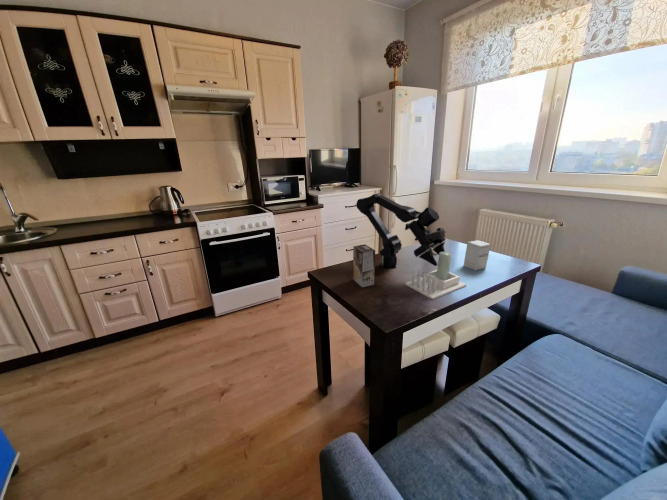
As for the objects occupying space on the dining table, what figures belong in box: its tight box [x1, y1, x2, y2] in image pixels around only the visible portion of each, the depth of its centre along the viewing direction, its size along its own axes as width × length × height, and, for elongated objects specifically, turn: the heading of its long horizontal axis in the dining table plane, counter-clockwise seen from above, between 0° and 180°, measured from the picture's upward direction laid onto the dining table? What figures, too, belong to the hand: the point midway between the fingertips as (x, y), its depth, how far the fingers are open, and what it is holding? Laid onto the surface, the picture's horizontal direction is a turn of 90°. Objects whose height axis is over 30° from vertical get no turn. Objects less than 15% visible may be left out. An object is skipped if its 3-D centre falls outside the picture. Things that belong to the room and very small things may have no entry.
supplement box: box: [463, 239, 491, 271], centre depth 132 cm, size 7×7×13 cm
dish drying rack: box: [404, 269, 467, 300], centre depth 116 cm, size 21×15×7 cm
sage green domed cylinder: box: [436, 251, 453, 281], centre depth 116 cm, size 5×5×13 cm
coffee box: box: [352, 243, 376, 288], centre depth 118 cm, size 9×6×16 cm
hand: (441, 262), depth 116 cm, fingers open, 9 cm apart
